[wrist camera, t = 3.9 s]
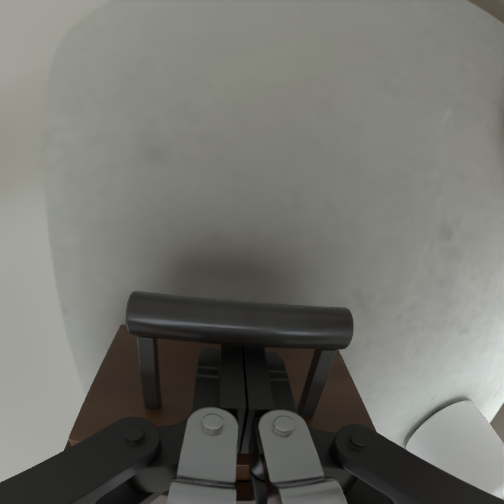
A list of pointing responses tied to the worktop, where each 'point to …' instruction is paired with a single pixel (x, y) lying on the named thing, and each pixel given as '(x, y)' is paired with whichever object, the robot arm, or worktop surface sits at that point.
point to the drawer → (213, 335)
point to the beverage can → (462, 446)
